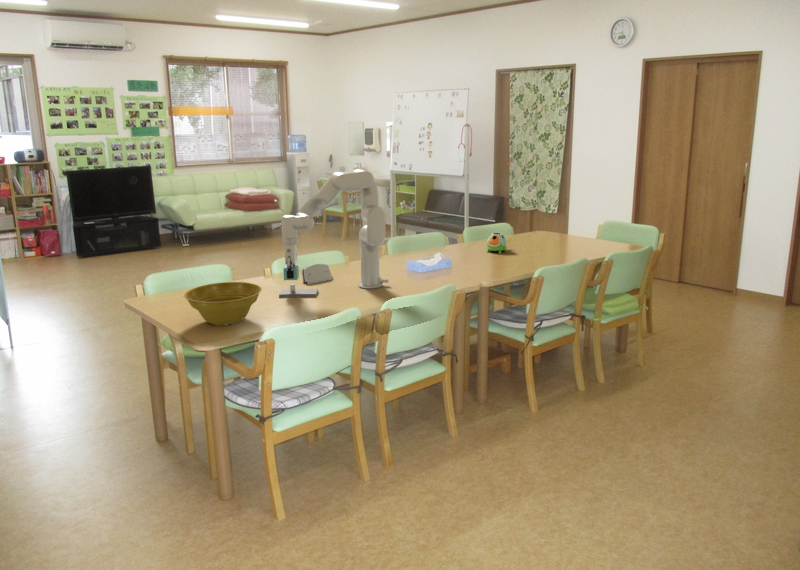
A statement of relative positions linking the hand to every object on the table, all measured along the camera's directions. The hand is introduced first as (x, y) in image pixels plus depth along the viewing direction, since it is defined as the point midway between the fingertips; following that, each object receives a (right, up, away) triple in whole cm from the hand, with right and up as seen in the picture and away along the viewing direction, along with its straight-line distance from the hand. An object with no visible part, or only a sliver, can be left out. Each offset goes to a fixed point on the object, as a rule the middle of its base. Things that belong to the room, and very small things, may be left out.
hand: (291, 276), depth 322 cm
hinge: (+9, -2, +30) cm, 31 cm away
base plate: (+3, -9, +2) cm, 10 cm away
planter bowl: (-22, -20, -38) cm, 49 cm away
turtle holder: (+116, +17, +101) cm, 155 cm away
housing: (0, -1, 0) cm, 1 cm away
